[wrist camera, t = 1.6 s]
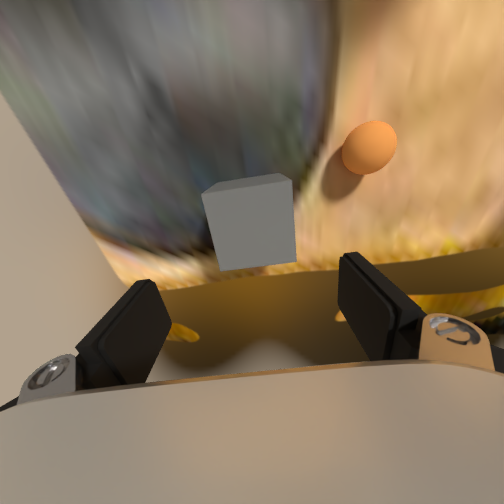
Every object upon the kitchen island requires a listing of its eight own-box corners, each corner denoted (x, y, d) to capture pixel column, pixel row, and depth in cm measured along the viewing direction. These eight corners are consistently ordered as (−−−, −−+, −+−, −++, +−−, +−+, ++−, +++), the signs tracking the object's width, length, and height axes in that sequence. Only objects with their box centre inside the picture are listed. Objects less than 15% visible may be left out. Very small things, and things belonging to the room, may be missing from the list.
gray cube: (279, 172, 24) (291, 180, 16) (284, 231, 28) (296, 261, 20) (217, 182, 25) (201, 194, 17) (229, 239, 28) (220, 271, 20)
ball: (381, 121, 22) (414, 111, 18) (376, 169, 24) (404, 172, 20) (335, 128, 22) (356, 121, 18) (334, 175, 25) (352, 180, 20)
